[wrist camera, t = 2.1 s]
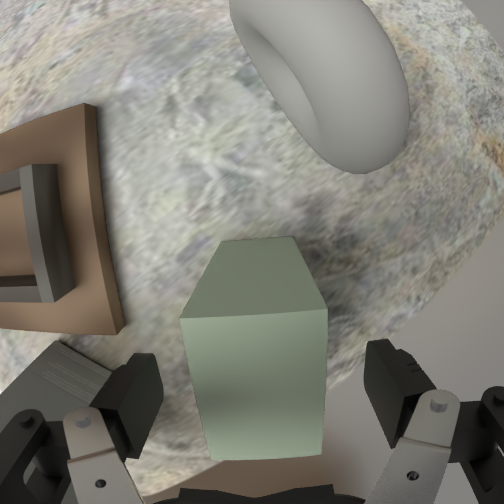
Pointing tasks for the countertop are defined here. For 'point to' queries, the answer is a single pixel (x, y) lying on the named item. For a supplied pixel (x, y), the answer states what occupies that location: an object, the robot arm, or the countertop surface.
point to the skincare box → (53, 391)
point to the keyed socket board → (55, 229)
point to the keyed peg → (258, 351)
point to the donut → (330, 76)
